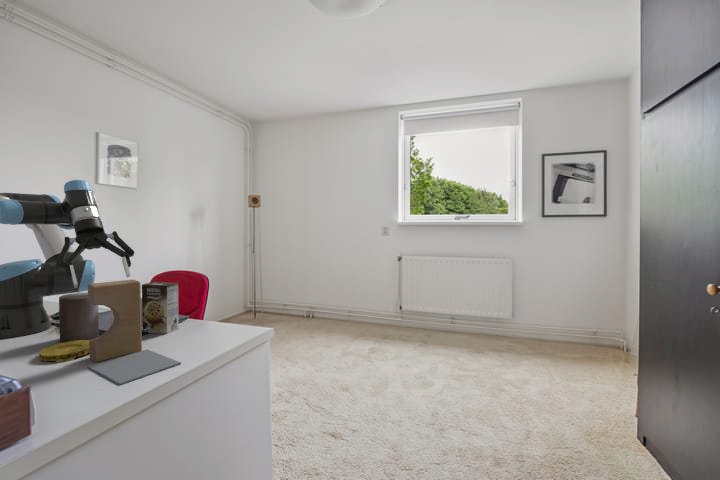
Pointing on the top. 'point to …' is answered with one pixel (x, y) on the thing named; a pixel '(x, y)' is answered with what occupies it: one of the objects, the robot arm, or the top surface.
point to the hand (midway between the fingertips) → (103, 281)
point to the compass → (65, 351)
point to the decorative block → (117, 319)
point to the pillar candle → (77, 318)
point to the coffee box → (160, 307)
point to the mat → (133, 366)
